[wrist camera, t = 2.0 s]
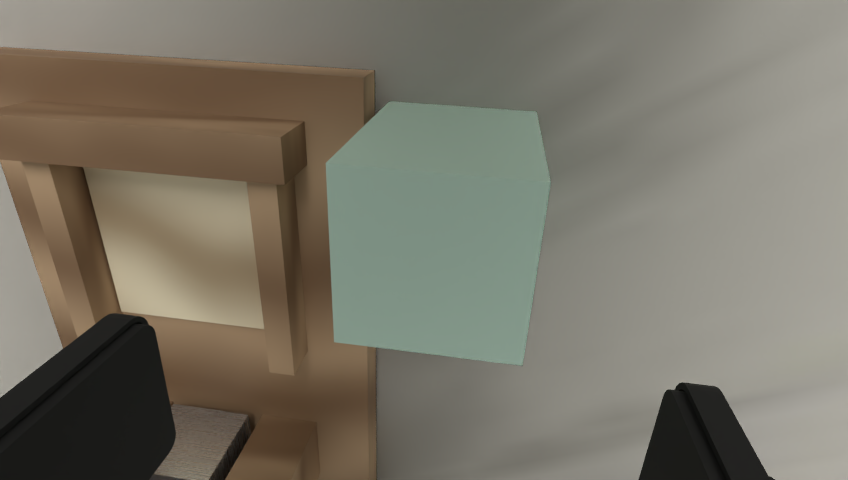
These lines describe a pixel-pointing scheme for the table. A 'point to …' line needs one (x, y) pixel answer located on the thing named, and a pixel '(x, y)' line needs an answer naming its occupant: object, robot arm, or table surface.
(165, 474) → the grey rectangular box
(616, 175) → the table surface
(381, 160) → the spacer block
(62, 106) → the jig
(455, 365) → the table surface
